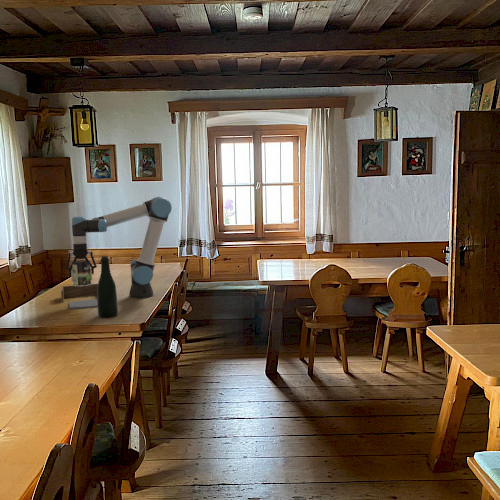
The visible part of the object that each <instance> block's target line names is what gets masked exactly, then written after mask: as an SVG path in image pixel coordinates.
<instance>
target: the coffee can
mask: <svg viewBox="0 0 500 500" xmlns="http://www.w3.org/2000/svg"><path fill="white" fill-rule="evenodd" d="M90 263H91V260H89V261H88V262H87V261H86V260H85V259H78V260H76V262H73V261H71V264H72V269H71V270H72V271H73V281H72V286H77V287H81V286H89V285H91V284H92V280H91V273H90V269H91V267H90Z"/></svg>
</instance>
